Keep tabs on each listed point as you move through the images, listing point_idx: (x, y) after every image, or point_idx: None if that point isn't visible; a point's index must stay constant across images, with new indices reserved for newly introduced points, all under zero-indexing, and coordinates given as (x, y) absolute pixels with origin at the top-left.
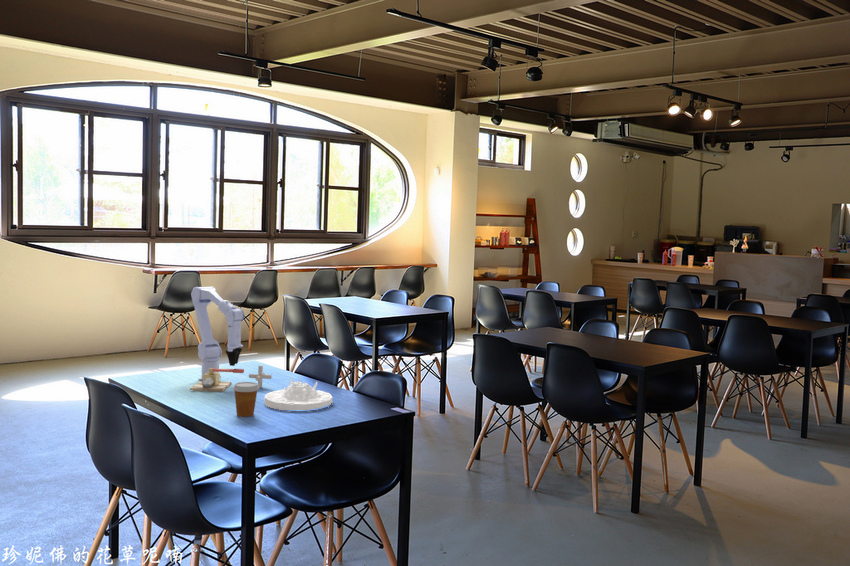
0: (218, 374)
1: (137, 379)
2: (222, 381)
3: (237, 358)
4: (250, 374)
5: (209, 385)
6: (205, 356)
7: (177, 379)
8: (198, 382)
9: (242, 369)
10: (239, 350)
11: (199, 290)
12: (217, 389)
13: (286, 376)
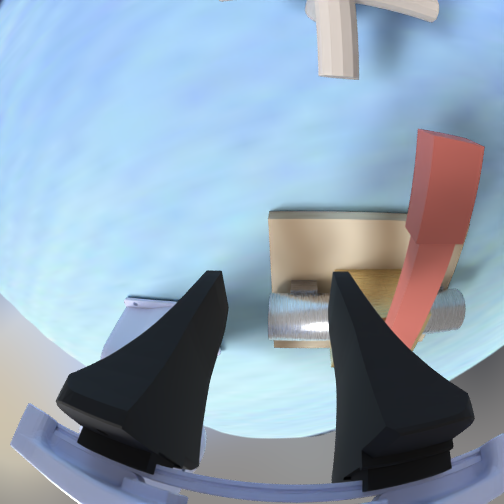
0: None
1: (263, 429)
2: (272, 268)
3: (201, 315)
4: (354, 64)
5: (456, 290)
6: (204, 437)
7: (233, 389)
8: (317, 346)
9: (457, 151)
10: (148, 409)
11: None
12: (462, 244)
13: (12, 41)
